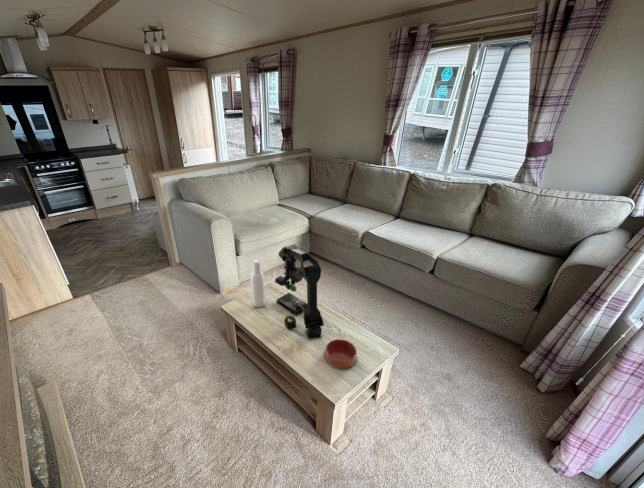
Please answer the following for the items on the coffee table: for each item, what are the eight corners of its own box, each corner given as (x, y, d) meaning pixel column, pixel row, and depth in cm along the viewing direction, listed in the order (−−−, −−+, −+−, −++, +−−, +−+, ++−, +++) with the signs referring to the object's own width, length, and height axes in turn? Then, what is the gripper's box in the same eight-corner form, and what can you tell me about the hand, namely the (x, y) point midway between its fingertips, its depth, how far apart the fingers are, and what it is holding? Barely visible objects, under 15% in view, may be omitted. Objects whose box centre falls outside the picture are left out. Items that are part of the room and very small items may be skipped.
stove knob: (303, 306, 176) (303, 300, 173) (298, 309, 174) (298, 303, 171) (299, 303, 178) (299, 297, 176) (294, 306, 176) (294, 300, 174)
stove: (309, 309, 177) (309, 305, 176) (297, 316, 172) (297, 312, 171) (289, 295, 189) (288, 292, 188) (277, 302, 184) (276, 298, 183)
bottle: (251, 307, 181) (247, 264, 165) (254, 299, 188) (250, 257, 172) (264, 308, 180) (261, 265, 164) (266, 300, 186) (264, 258, 171)
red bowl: (329, 370, 139) (329, 362, 136) (322, 347, 151) (323, 340, 148) (359, 367, 139) (360, 360, 137) (350, 345, 151) (351, 338, 149)
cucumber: (293, 293, 173) (293, 288, 172) (283, 286, 179) (283, 281, 177) (297, 290, 175) (298, 285, 173) (287, 284, 181) (287, 279, 179)
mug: (281, 326, 165) (281, 316, 161) (289, 321, 169) (289, 311, 165) (297, 337, 157) (297, 327, 153) (305, 332, 161) (306, 321, 157)
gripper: (287, 277, 159) (287, 300, 167) (312, 265, 168) (311, 287, 177) (274, 269, 166) (274, 292, 174) (298, 258, 176) (298, 280, 184)
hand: (290, 288), depth 177 cm, fingers closed on cucumber, 3 cm apart
